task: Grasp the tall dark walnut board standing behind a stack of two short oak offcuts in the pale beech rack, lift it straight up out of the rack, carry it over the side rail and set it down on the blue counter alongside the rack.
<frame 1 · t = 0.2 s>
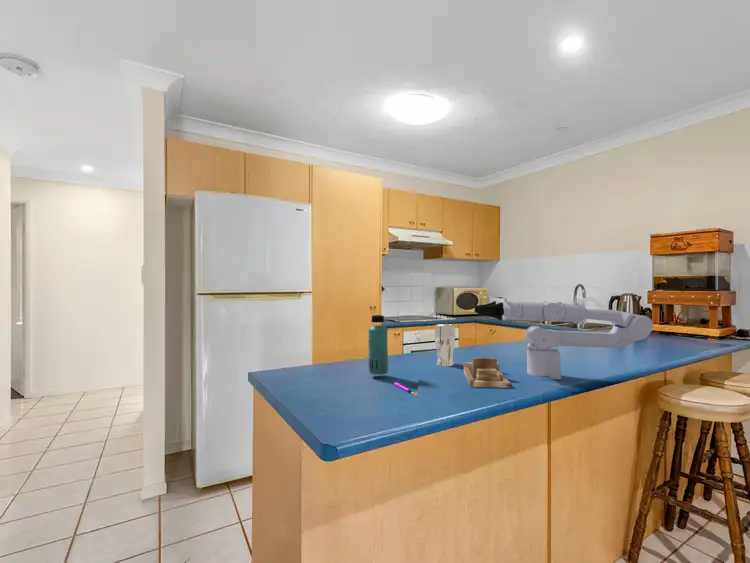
hand: (476, 309, 124), 21 cm above the countertop, tool horizontal, fingers open, 7 cm apart
offcut top: (486, 375, 110), point 3 cm above the countertop, touching offcut low
pink paintbrush: (411, 393, 108), on the countertop
beer glass: (445, 367, 137), on the countertop
beverage bottle: (378, 377, 124), on the countertop
offcut low: (488, 384, 110), point 1 cm above the countertop, touching offcut top, rack
rack: (485, 382, 116), on the countertop
tall board: (484, 377, 117), point 1 cm above the countertop, touching rack
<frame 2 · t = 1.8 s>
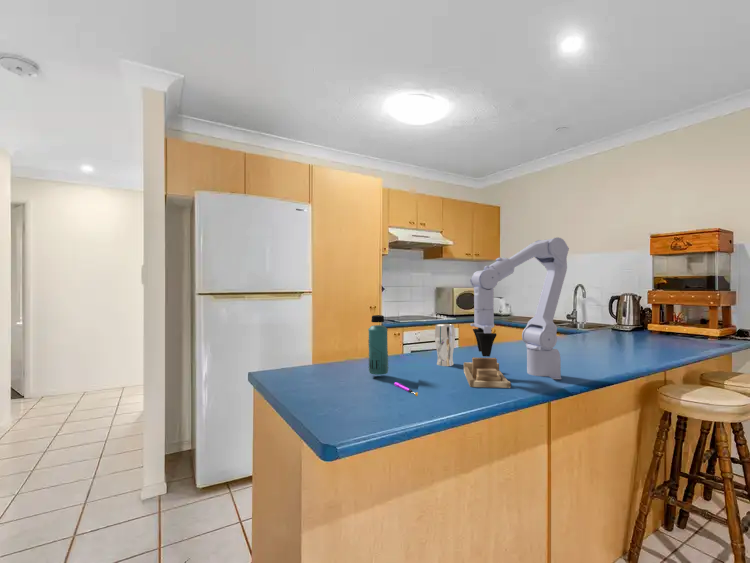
hand: (484, 353, 117), 8 cm above the countertop, tool pointing down, fingers open, 7 cm apart
nothing on the countertop moved.
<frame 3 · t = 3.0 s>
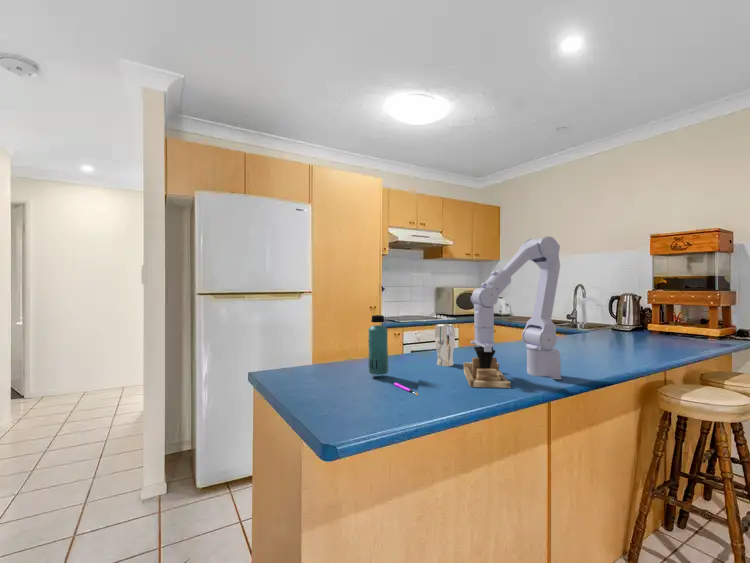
hand: (484, 371, 117), 3 cm above the countertop, tool pointing down, fingers closed on tall board, 2 cm apart
tall board: (484, 377, 117), point 1 cm above the countertop, touching gripper, rack
everything else where it was.
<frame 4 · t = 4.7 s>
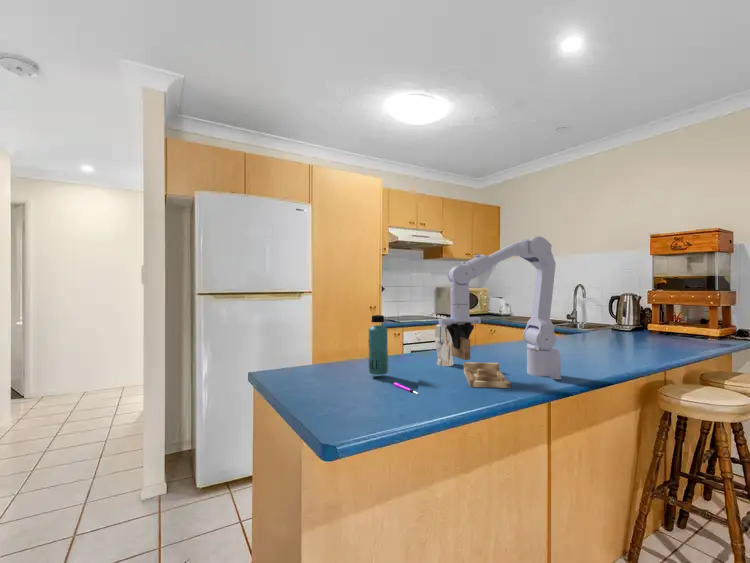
hand: (460, 347, 120), 10 cm above the countertop, tool pointing down, fingers closed on tall board
tall board: (460, 357, 120), point 7 cm above the countertop, touching gripper
everything else where it was.
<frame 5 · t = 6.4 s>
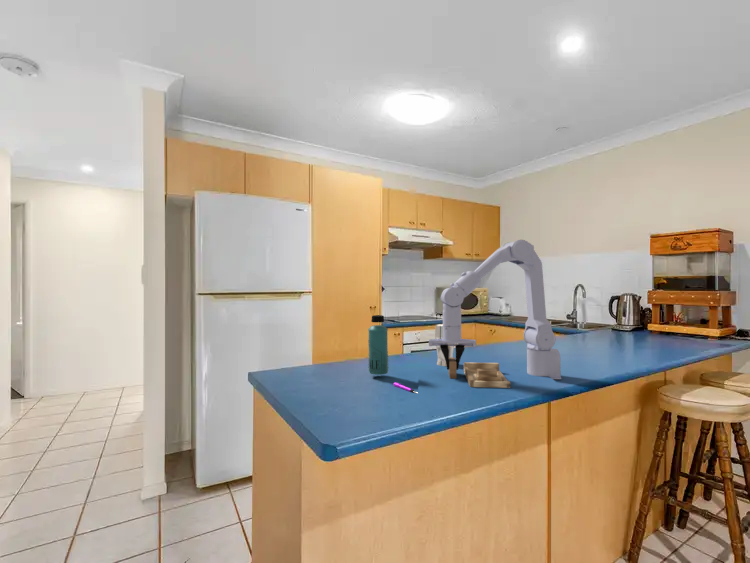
hand: (452, 369, 121), 3 cm above the countertop, tool pointing down, fingers closed on tall board, 2 cm apart
tall board: (452, 378, 121), on the countertop, touching gripper
everything else where it was.
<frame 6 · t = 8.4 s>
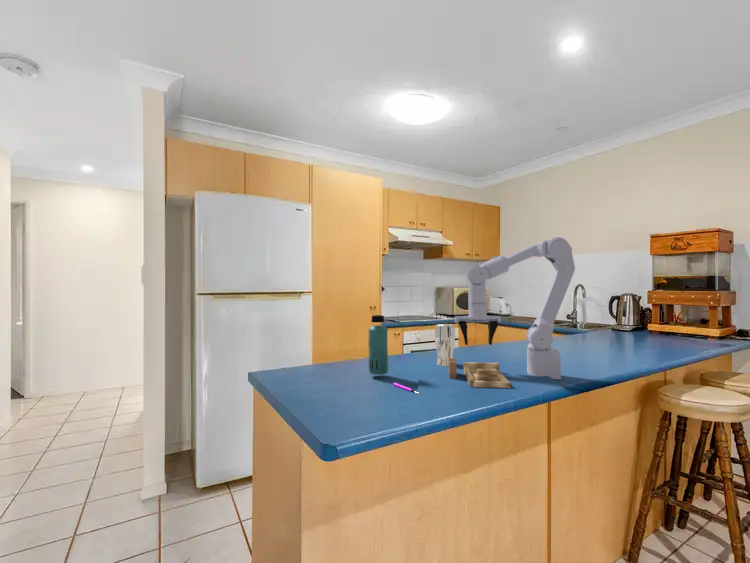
hand: (478, 344, 126), 10 cm above the countertop, tool pointing down, fingers open, 7 cm apart
tall board: (452, 378, 121), on the countertop
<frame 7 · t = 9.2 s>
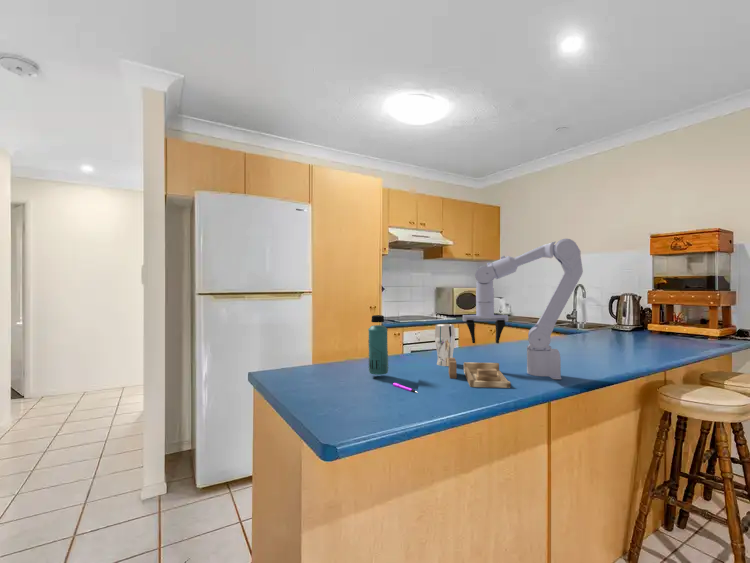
hand: (485, 342, 128), 10 cm above the countertop, tool pointing down, fingers open, 7 cm apart
nothing on the countertop moved.
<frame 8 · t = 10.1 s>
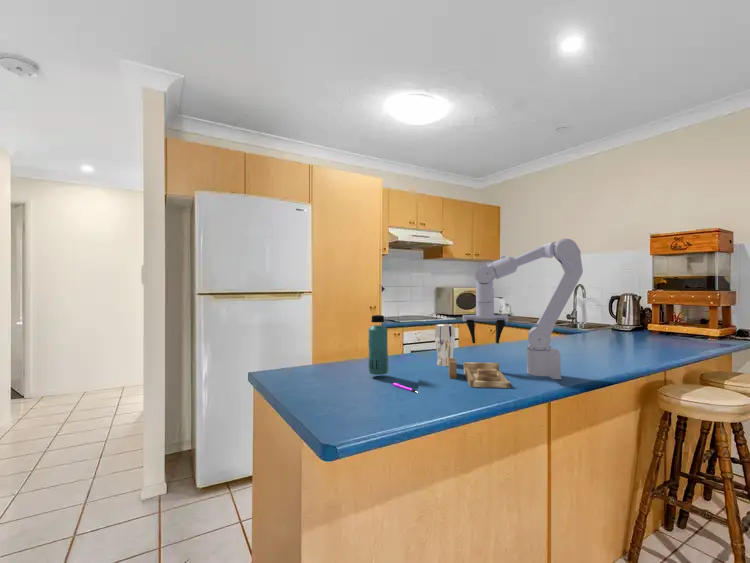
hand: (485, 342, 128), 10 cm above the countertop, tool pointing down, fingers open, 7 cm apart
at the end: tall board inside the target area (0.8 cm from its centre), on the countertop; tall board touching countertop; the gripper is holding nothing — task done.
